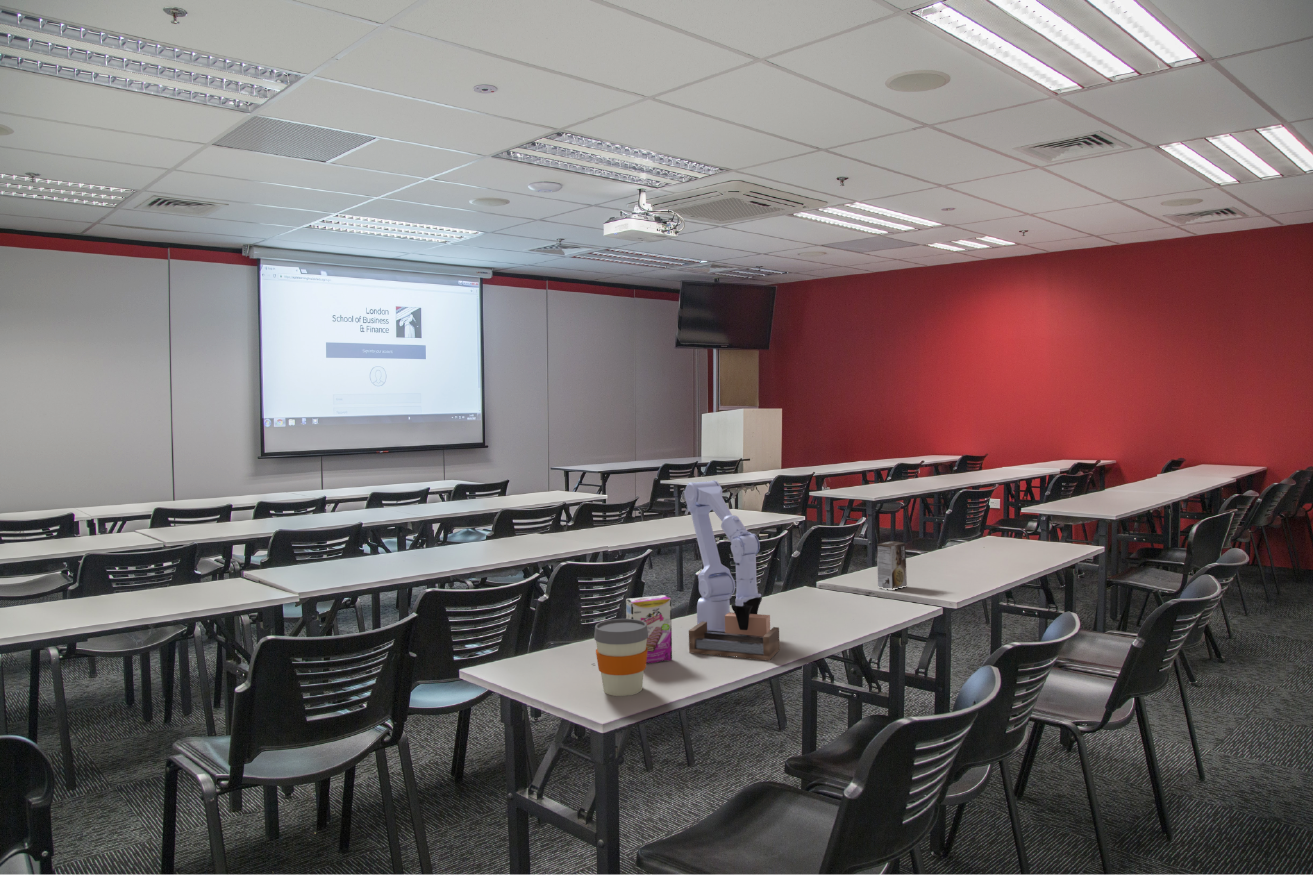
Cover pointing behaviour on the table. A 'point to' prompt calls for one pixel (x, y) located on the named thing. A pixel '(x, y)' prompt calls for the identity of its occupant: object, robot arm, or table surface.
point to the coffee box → (891, 564)
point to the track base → (733, 643)
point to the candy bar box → (654, 624)
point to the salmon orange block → (756, 625)
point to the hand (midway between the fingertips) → (747, 626)
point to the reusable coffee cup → (621, 655)
